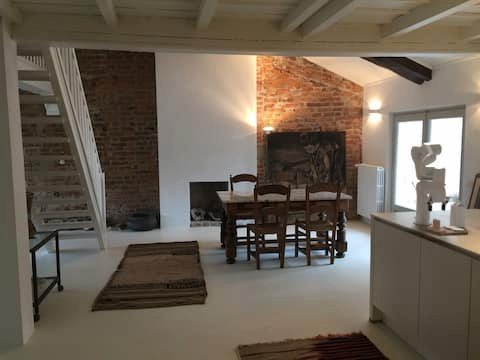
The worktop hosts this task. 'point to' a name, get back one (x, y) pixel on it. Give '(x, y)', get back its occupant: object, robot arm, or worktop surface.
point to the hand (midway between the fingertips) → (436, 210)
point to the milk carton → (457, 214)
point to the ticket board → (449, 231)
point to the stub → (436, 226)
